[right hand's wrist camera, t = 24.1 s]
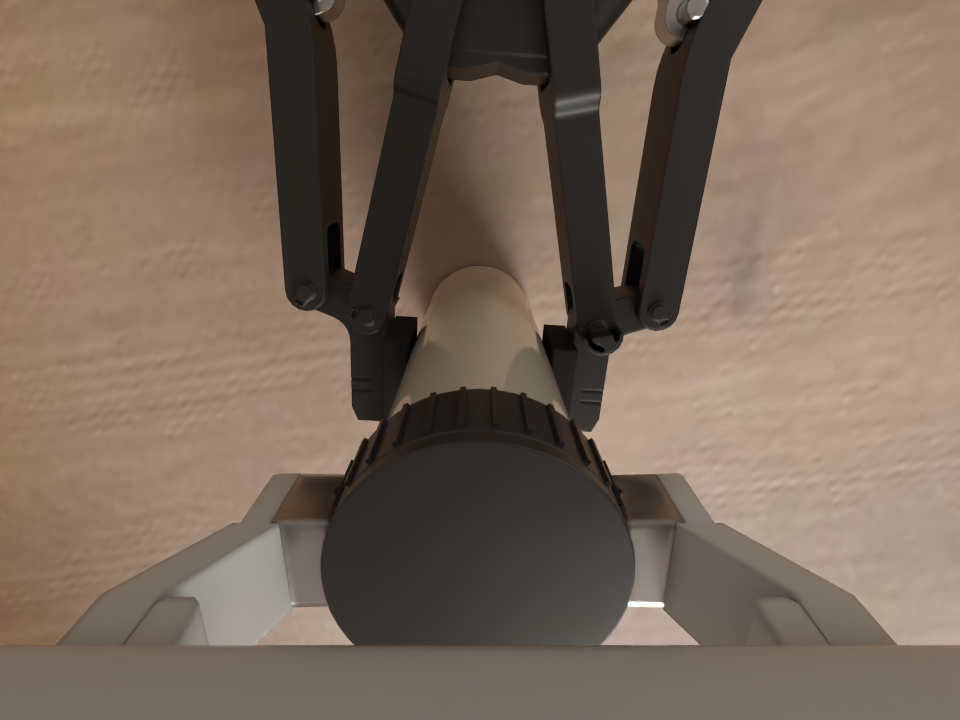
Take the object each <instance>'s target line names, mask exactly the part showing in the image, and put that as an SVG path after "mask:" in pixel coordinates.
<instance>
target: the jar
mask: <svg viewBox="0 0 960 720" xmlns="http://www.w3.org/2000/svg"><path fill="white" fill-rule="evenodd" d="M464 386H466V389H491V386H492V387H497V390H500V391H506V392H511V393H516V394H519V395H520V393H521V392H523V393H526V394H527V397H529V398H532V399H534V400H536V401H538V402H541V403H543V404H545V405H548V403H550V404H552V405H554V408H555V411H557V412H559V413H560V414H562V415H563V416H565V417H566V418H567V419H568V420H569V421H570V418H569V415H568V413H567V410H566V407H565V404H564V401H563V399H562V396H561V393H560V390H559V387H558V385H557V382H556V379H555V376H554V373H553V371H552V368H551V365H550V362H549V359H548V357H547V354H546V351H545V348H544V346H543V343H542V340H541V337H540V334H539V332H538V329H537V326H536V323H535V320H534V318H533V315H532V312H531V309H530V306H529V304H528V301H527V298H526V295H525V293H524V292H523V290H522V288H521V287H520V285H519V284H518V283H517V282H516V281H515V280H514V279H513V278H512V277H511V276H509V275H508V274H506V273H505V272H503V271H501V270H498V269H496V268H492V267H487V266H470V267H466V268H462V269H460V270H457V271H455V272H454V273H452V274H450V275H449V276H448V277H446V278H445V279H444V280H443V281H442V282H441V283H440V284H439V286H438V287H437V288H436V290H435V292H434V293H433V296H432V298H431V301H430V304H429V306H428V309H427V312H426V314H425V317H424V320H423V323H422V325H421V328H420V331H419V333H418V336H417V339H416V342H415V344H414V347H413V350H412V352H411V355H410V358H409V361H408V363H407V366H406V369H405V372H404V374H403V377H402V380H401V382H400V385H399V388H398V391H397V393H396V396H395V399H394V401H393V404H392V407H391V410H390V412H389V415H388V418H387V420H388V419H389V418H390V417H392V416H393V415H394V414H396V413H397V412H399V411H401V410H402V407H403V405H404V404H406V403H409V405H411V404H413V403H415V402H418V401H420V400H422V399H424V398H427V397H430V393H433V392H436V393H437V394H440V393H445V392H450V391H456V390H460V387H464ZM387 420H386V421H387Z"/></svg>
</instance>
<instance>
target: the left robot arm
mask: <svg viewBox="0 0 960 720" xmlns="http://www.w3.org/2000/svg"><path fill="white" fill-rule="evenodd" d="M255 1H256V4H257V7H258V9H259V12H260V14H261V17H262V19H263V22H264V25H265V33H266V46H267V59H268V72H269V85H270V98H271V111H272V124H273V137H274V150H275V163H276V176H277V189H278V202H279V215H280V228H281V241H282V254H283V267H284V280H285V291H286V295H287V298H288V300H289V301H290V302H291V304H292V305H294V306H295V307H297V308H298V309H301V310H305V311H310V310H318V311H320V312H323V313H325V314H328V315H330V316H333V317H335V318H336V319H338V320H340V321H341V322H342V323H343V324H344V325H345V327H346V328H347V330H348V332H349V335H350V344H351V377H352V380H351V384H352V407H353V409H354V411H355V414H356V416H357V418H358V420H372V421H381V420H382V419H383V418H384V419H385V420H387V418H388V415H389V412H390V410H391V407H392V404H393V401H394V399H395V396H396V393H397V391H398V388H399V385H400V382H401V380H402V377H403V374H404V372H405V369H406V366H407V363H408V361H409V358H410V355H411V352H412V350H413V347H414V344H415V342H416V339H417V317H405V316H396V317H395V305H396V304H397V302H398V300H399V298H400V297H398V295H399V291H400V287H401V283H402V279H403V275H404V271H405V267H406V263H407V259H408V256H409V252H410V248H411V244H412V240H413V236H414V232H415V228H416V224H417V220H418V216H419V212H420V208H421V204H422V200H423V196H424V192H425V188H426V184H427V180H428V176H429V172H430V168H431V164H432V160H433V156H434V152H435V148H436V144H437V140H438V136H439V132H440V128H441V124H442V121H443V117H444V114H445V112H446V109H447V106H448V102H449V98H450V94H451V90H452V86H453V82H454V80H464V81H472V80H476V79H481V78H485V77H489V76H494V75H498V76H501V77H504V78H507V79H509V80H512V81H515V82H517V83H520V84H523V85H537V87H538V95H539V103H540V110H541V116H542V119H543V123H544V129H545V137H546V145H547V154H548V162H549V170H550V179H551V187H552V196H553V204H554V212H555V221H556V229H557V237H558V246H559V254H560V263H561V271H562V279H563V288H564V296H565V304H566V312H567V315H568V321H567V329H566V327H565V326H559V325H544V329H543V338H542V343H543V346H544V348H545V351H546V354H547V357H548V359H549V362H550V365H551V368H552V371H553V373H554V376H555V379H556V382H557V385H558V387H559V390H560V393H561V396H562V399H563V401H564V404H565V407H566V410H567V413H568V415H569V418H570V421H571V420H572V419H574V420H575V421H576V422H577V424H578V427H579V429H580V431H586V432H591V431H592V429H593V428H594V426H595V424H596V423H597V421H598V420H599V415H600V408H601V402H602V395H603V389H604V382H605V376H606V369H607V363H608V356H609V354H611V353H613V352H614V351H616V350H617V349H618V348H619V347H620V345H621V343H622V341H623V336H624V335H626V334H629V333H632V332H636V331H640V330H643V329H647V328H648V329H650V330H654V331H659V330H664V329H666V328H668V327H670V326H671V325H672V324H673V323H674V322H675V321H676V318H677V316H678V313H679V309H680V304H681V299H682V294H683V289H684V284H685V279H686V275H687V270H688V265H689V260H690V255H691V250H692V245H693V241H694V236H695V231H696V226H697V221H698V216H699V211H700V207H701V202H702V197H703V192H704V187H705V182H706V178H707V173H708V168H709V163H710V158H711V153H712V148H713V144H714V139H715V134H716V129H717V124H718V119H719V114H720V110H721V105H722V100H723V95H724V90H725V85H726V80H727V76H728V71H729V66H730V61H731V58H732V56H733V54H734V52H735V50H736V48H737V47H738V45H739V43H740V41H741V39H742V37H743V35H744V34H745V32H746V30H747V28H748V26H749V24H750V22H751V21H752V19H753V17H754V15H755V13H756V11H757V9H758V7H759V6H760V4H761V2H762V0H658V9H657V14H656V18H655V32H656V35H657V37H658V39H659V40H660V42H662V43H663V44H664V45H666V48H665V50H664V53H663V55H662V58H661V61H660V64H659V67H658V70H657V74H656V79H655V83H654V88H653V94H652V100H651V106H650V112H649V118H648V124H647V130H646V136H645V142H644V149H643V155H642V161H641V167H640V173H639V179H638V185H637V191H636V197H635V203H634V210H633V216H632V222H631V228H630V234H629V240H628V246H627V252H626V258H625V264H624V271H623V277H622V283H621V286H618V287H614V281H613V269H612V258H611V246H610V234H609V223H608V211H607V199H606V188H605V176H604V164H603V153H602V141H601V129H600V117H599V105H600V99H601V78H600V66H599V54H598V44H599V42H600V41H601V40H602V38H603V37H604V36H605V35H606V33H607V32H608V31H609V30H610V28H611V27H612V26H613V24H614V23H615V22H616V21H617V19H618V18H619V17H620V16H621V14H622V13H623V12H624V10H625V9H626V8H627V7H628V5H629V4H630V3H631V1H632V0H384V2H385V4H386V5H387V7H388V9H389V10H390V12H391V14H392V15H393V17H394V19H395V20H396V22H397V24H398V25H399V27H400V29H401V30H402V32H403V38H402V43H401V48H400V52H399V57H398V61H397V66H396V71H395V77H394V94H393V101H392V105H391V110H390V114H389V119H388V124H387V128H386V133H385V137H384V142H383V146H382V151H381V155H380V160H379V165H378V169H377V174H376V178H375V183H374V187H373V192H372V197H371V201H370V206H369V210H368V215H367V219H366V224H365V228H364V233H363V238H362V242H361V247H360V251H359V256H358V260H357V265H356V270H355V273H353V272H351V271H348V270H346V269H345V268H344V241H343V214H342V186H341V159H340V132H339V104H338V77H337V60H336V49H335V44H334V39H333V34H332V30H331V26H330V23H329V22H331V21H333V20H335V19H337V18H338V17H339V16H340V15H341V14H342V11H343V9H344V7H345V0H255Z"/></svg>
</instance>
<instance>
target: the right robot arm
mask: <svg viewBox="0 0 960 720" xmlns="http://www.w3.org/2000/svg"><path fill="white" fill-rule="evenodd" d="M344 476H345V475H341V474H300V473H294V474H276V475H273V476H272V477H271V479H270V480H269V482H268V483H267V485H266V486H265V488H264V489H263V491H262V492H261V494H260V495H259V497H258V498H257V499H256V501H255V502H254V504H253V505H252V507H251V508H250V510H249V511H248V513H247V514H246V516H245V517H244V519H243V520H242V521H241V523H232V524H230V525H228V526H226V527H224V528H223V529H221V530H219V531H217V532H215V533H213V534H212V535H210V536H208V537H206V538H204V539H202V540H201V541H199V542H197V543H195V544H193V545H191V546H190V547H188V548H186V549H184V550H182V551H180V552H179V553H177V554H175V555H173V556H171V557H169V558H167V559H166V560H164V561H162V562H160V563H158V564H156V565H155V566H153V567H151V568H149V569H147V570H145V571H144V572H142V573H140V574H138V575H136V576H134V577H133V578H131V579H129V580H127V581H125V582H123V583H122V584H120V585H118V586H116V587H114V588H112V589H111V590H109V591H107V592H105V593H103V594H101V595H100V596H99V597H98V599H97V600H96V601H95V602H94V603H93V604H92V605H91V606H90V608H89V609H88V610H87V611H86V612H85V613H84V614H83V615H82V616H81V618H80V619H79V620H78V621H77V622H76V623H75V624H74V625H73V627H72V628H71V629H70V630H69V631H68V632H67V633H66V634H65V635H64V637H63V638H62V639H61V640H60V641H59V642H58V643H57V644H56V645H0V720H960V645H897V644H896V643H895V642H894V641H893V640H892V638H891V637H890V636H889V635H888V634H887V633H886V632H885V630H884V629H883V628H882V627H881V626H880V625H879V624H878V622H877V621H876V620H875V619H874V618H873V617H872V616H871V614H870V613H869V612H868V611H867V610H866V609H865V607H864V606H863V605H862V604H861V603H860V602H859V601H858V599H857V598H856V597H855V596H854V595H852V594H850V593H849V592H847V591H845V590H843V589H841V588H839V587H838V586H836V585H834V584H832V583H830V582H829V581H827V580H825V579H823V578H821V577H820V576H818V575H816V574H814V573H812V572H810V571H809V570H807V569H805V568H803V567H801V566H800V565H798V564H796V563H794V562H792V561H790V560H789V559H787V558H785V557H783V556H781V555H780V554H778V553H776V552H774V551H772V550H770V549H769V548H767V547H765V546H763V545H761V544H760V543H758V542H756V541H754V540H752V539H751V538H749V537H747V536H745V535H743V534H741V533H740V532H738V531H736V530H734V529H732V528H731V527H729V526H727V525H725V524H723V523H714V521H713V520H712V518H711V517H710V515H709V514H708V512H707V511H706V509H705V508H704V507H703V505H702V504H701V502H700V501H699V499H698V498H697V496H696V495H695V493H694V492H693V490H692V489H691V487H690V486H689V484H688V483H687V481H686V480H685V478H684V477H683V475H681V474H679V473H670V474H644V475H611V476H612V478H613V480H614V483H615V485H616V487H617V490H618V492H619V494H620V496H621V499H622V501H623V503H624V506H625V508H626V510H624V511H621V512H622V514H623V517H624V519H625V521H626V524H627V526H628V528H629V531H630V535H631V538H632V542H633V545H634V553H635V562H636V563H635V580H634V585H633V589H632V594H631V598H630V600H629V603H628V605H627V606H634V607H664V608H663V610H664V611H665V612H666V613H668V614H669V615H670V616H671V617H672V618H673V619H674V620H675V621H676V622H677V623H678V624H679V625H680V626H681V627H682V628H683V629H684V630H685V631H686V632H687V633H688V634H690V635H691V636H692V637H693V638H694V639H695V640H696V641H697V642H698V643H699V644H700V645H255V644H256V643H257V642H258V641H260V640H261V639H262V638H263V637H264V636H265V635H266V634H267V633H268V632H269V631H270V630H271V629H272V628H273V627H274V626H275V625H277V624H278V623H279V622H280V621H281V620H282V619H283V618H284V617H285V616H286V615H287V614H288V613H289V612H290V611H291V610H292V607H320V606H328V604H327V601H326V599H325V596H324V591H323V586H322V582H321V570H320V559H321V551H322V544H323V541H324V537H325V534H326V531H327V528H328V525H329V523H330V521H331V518H332V516H333V513H334V511H333V510H330V508H331V505H332V503H333V501H334V498H335V496H336V494H337V492H338V489H339V487H340V485H341V482H342V480H343V478H344Z"/></svg>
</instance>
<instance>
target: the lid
mask: <svg viewBox="0 0 960 720" xmlns="http://www.w3.org/2000/svg"><path fill="white" fill-rule="evenodd" d="M330 510H333V511H334V513H333V516H332V518H331V521H330V523H329V525H328V528H327V531H326V534H325V537H324V541H323V544H322V551H321V559H320V570H321V582H322V586H323V591H324V596H325V599H326V601H327V604H328V606H329V609H330V612H331V613H332V615H333V617H334V619H335V621H336V622H337V624H338V626H339V627H340V628H341V630H342V631H343V632H344V634H345V635H346V636H347V638H348V639H349V640H350V641H351V642H352V643H353V644H354V645H602V644H603V643H604V642H605V641H606V640H607V638H608V637H609V636H610V634H611V633H612V632H613V630H614V629H615V628H616V627H617V625H618V623H619V621H620V620H621V618H622V616H623V614H624V613H625V611H626V608H627V605H628V603H629V600H630V598H631V594H632V589H633V585H634V580H635V563H636V562H635V553H634V545H633V542H632V538H631V535H630V531H629V528H628V526H627V524H626V521H625V519H624V517H623V514H622V512H621V511H624V510H626V508H625V506H624V503H623V501H622V499H621V496H620V494H619V492H618V490H617V487H616V485H615V483H614V480H613V478H612V476H611V473H610V471H609V469H608V466H607V464H606V462H605V460H604V461H602V458H601V456H600V454H599V451H598V449H597V447H596V444H595V442H594V440H593V439H592V438H591V439H589V440H588V439H587V438H586V437H585V435H584V434H583V433H582V432H581V431H580V429H579V427H578V424H577V422H576V421H575V420H574V419H572V420H571V421H569V420H568V419H567V418H566V417H565V416H563V415H562V414H560V413H559V412H557V411H555V408H554V405H552V404H550V403H548V405H545V404H543V403H541V402H538V401H536V400H534V399H532V398H529V397H527V394H526V393H523V392H521V393H520V395H519V394H516V393H511V392H506V391H500V390H497V387H492V386H491V389H466V386H464V387H460V390H456V391H450V392H445V393H440V394H437V393H436V392H433V393H430V397H427V398H424V399H422V400H420V401H418V402H415V403H413V404H411V405H409V403H406V404H404V405H403V407H402V410H401V411H399V412H397V413H396V414H394V415H393V416H392V417H390V418H389V419H388V420H387V421H386V420H385V419H384V418H383V419H382V420H381V421H380V423H379V425H378V428H377V430H376V431H375V432H374V433H373V434H372V435H371V437H370V438H369V439H366V438H364V439H363V441H362V442H361V445H360V447H359V449H358V452H357V454H356V456H355V459H354V461H353V460H351V462H350V464H349V466H348V469H347V471H346V473H345V476H344V478H343V480H342V482H341V485H340V487H339V489H338V492H337V494H336V496H335V498H334V501H333V503H332V505H331V508H330Z"/></svg>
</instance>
